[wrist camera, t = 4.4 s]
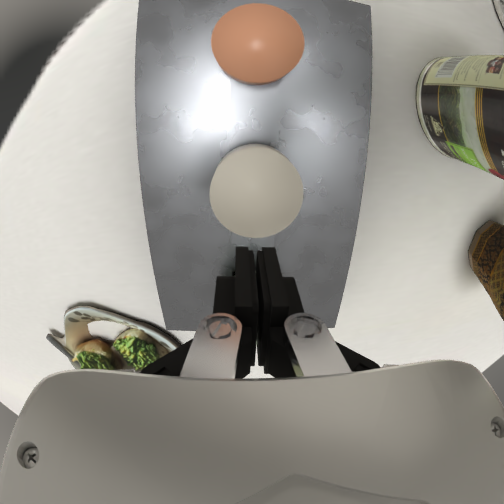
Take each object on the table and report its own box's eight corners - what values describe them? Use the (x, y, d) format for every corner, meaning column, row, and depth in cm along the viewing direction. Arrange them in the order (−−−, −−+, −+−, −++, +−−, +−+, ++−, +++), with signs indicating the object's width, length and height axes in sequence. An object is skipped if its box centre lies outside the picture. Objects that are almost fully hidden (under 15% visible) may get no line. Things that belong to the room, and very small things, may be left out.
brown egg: (289, 29, 16) (304, 6, 11) (288, 90, 18) (304, 84, 14) (219, 27, 16) (212, 3, 11) (217, 89, 18) (210, 82, 13)
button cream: (290, 139, 19) (306, 150, 14) (286, 207, 21) (299, 237, 17) (216, 138, 19) (207, 149, 14) (218, 207, 21) (211, 238, 17)
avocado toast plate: (55, 359, 33) (44, 381, 29) (49, 274, 26) (29, 298, 22) (167, 404, 38) (163, 428, 34) (202, 337, 30) (198, 368, 26)
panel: (355, 15, 15) (370, 6, 12) (327, 308, 28) (334, 327, 26) (151, 10, 14) (139, -1, 12) (172, 309, 28) (166, 329, 25)
